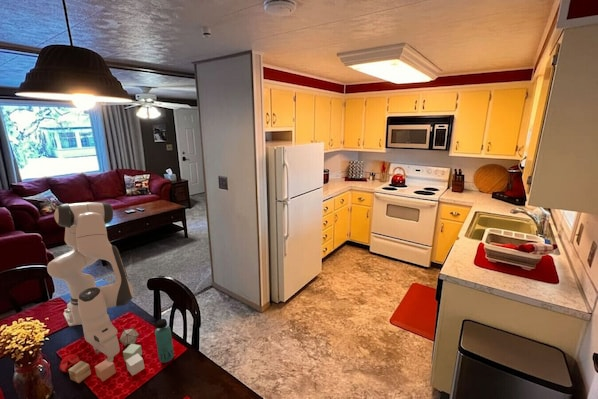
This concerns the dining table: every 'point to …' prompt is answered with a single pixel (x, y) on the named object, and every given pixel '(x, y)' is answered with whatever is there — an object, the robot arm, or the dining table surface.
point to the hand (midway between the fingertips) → (104, 356)
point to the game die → (129, 337)
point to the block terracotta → (105, 370)
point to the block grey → (135, 364)
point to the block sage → (132, 351)
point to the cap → (66, 360)
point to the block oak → (79, 371)
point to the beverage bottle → (164, 341)
